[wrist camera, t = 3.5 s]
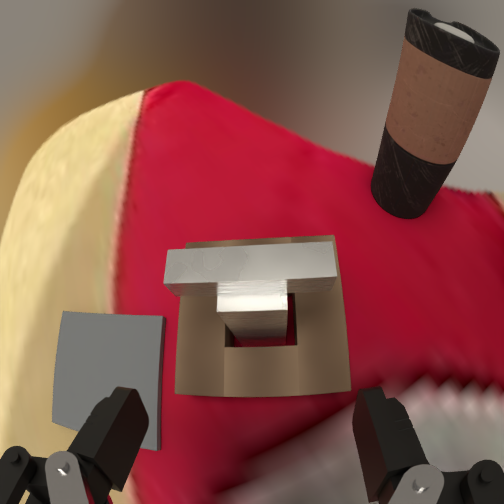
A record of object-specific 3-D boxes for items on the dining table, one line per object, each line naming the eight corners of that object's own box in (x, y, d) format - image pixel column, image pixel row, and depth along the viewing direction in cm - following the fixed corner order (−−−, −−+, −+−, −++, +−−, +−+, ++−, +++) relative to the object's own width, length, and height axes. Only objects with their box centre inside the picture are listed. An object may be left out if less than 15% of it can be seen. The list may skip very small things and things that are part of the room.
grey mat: (166, 318, 25) (162, 315, 24) (160, 449, 19) (156, 450, 19) (67, 313, 26) (62, 311, 25) (57, 422, 20) (52, 422, 20)
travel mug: (402, 233, 27) (484, 53, 9) (354, 183, 30) (386, 5, 13) (441, 202, 28) (511, 53, 10) (396, 160, 31) (436, 10, 14)
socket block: (327, 257, 26) (334, 235, 23) (339, 391, 21) (351, 390, 17) (198, 264, 27) (186, 242, 24) (191, 394, 22) (174, 393, 18)
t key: (310, 303, 24) (329, 226, 14) (312, 343, 23) (339, 294, 12) (217, 307, 25) (170, 235, 15) (216, 346, 24) (161, 300, 13)
